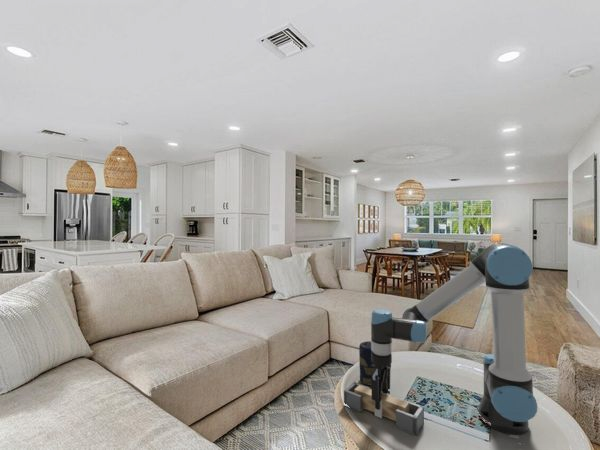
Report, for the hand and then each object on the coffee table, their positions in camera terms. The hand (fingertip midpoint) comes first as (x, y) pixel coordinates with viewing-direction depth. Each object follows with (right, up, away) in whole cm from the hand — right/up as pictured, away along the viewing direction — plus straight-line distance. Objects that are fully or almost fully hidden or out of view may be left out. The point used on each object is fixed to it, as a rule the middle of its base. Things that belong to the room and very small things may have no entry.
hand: (381, 413), depth 116 cm
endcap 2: (+9, 0, -7) cm, 11 cm away
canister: (+1, 0, +23) cm, 23 cm away
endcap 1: (-8, 0, +6) cm, 10 cm away
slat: (0, +1, 0) cm, 1 cm away
